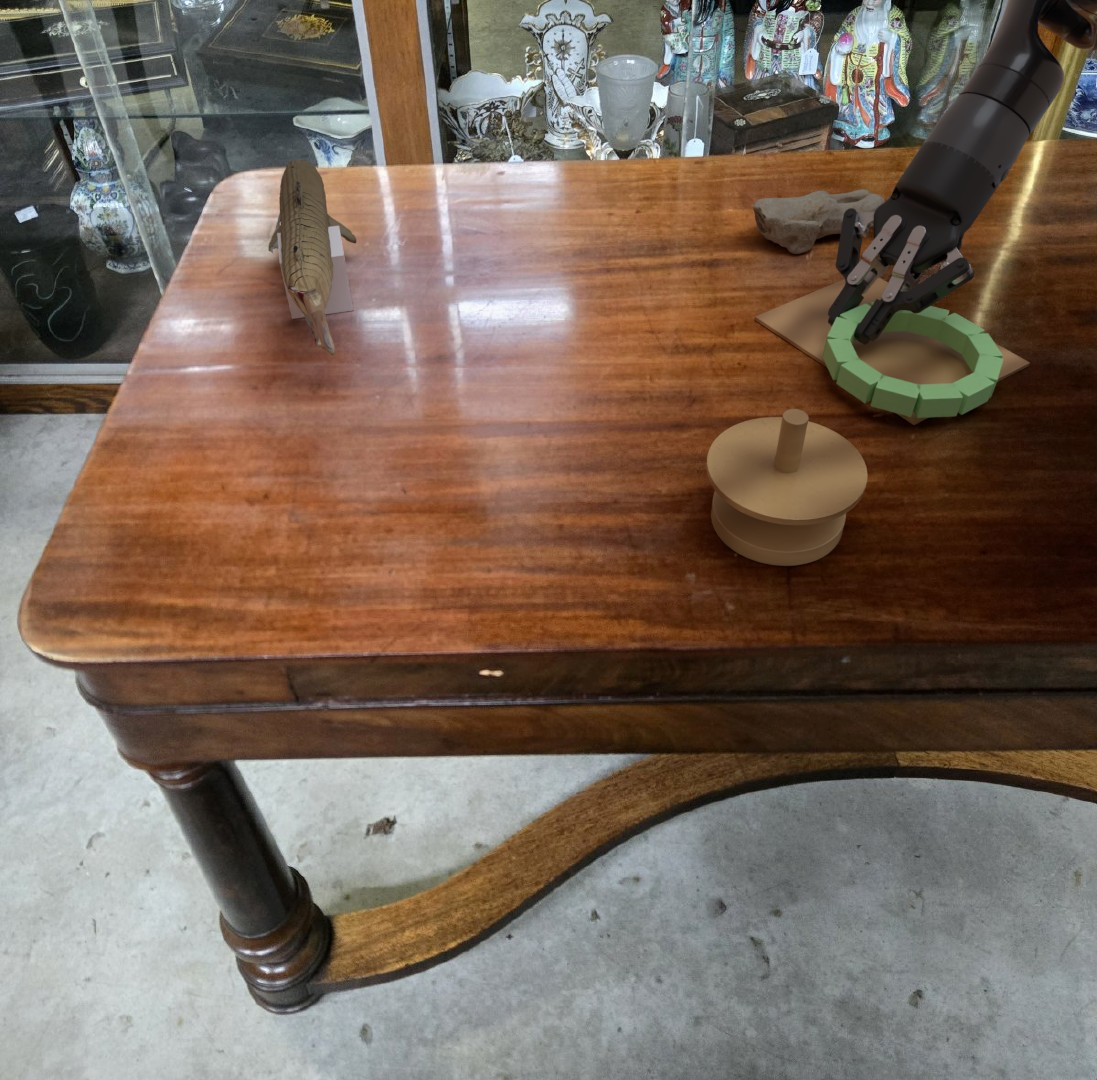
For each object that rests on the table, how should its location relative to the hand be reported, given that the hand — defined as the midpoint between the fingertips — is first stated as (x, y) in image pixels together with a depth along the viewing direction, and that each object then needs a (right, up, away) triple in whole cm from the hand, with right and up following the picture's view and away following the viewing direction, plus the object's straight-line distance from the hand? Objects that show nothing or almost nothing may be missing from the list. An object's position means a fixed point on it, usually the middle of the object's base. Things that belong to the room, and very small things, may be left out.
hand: (847, 332), depth 94 cm
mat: (+5, 0, +3) cm, 5 cm away
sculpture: (+1, +14, +18) cm, 23 cm away
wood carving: (-49, +4, +8) cm, 50 cm away
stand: (-10, -17, -14) cm, 24 cm away
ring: (+5, -3, -3) cm, 6 cm away
